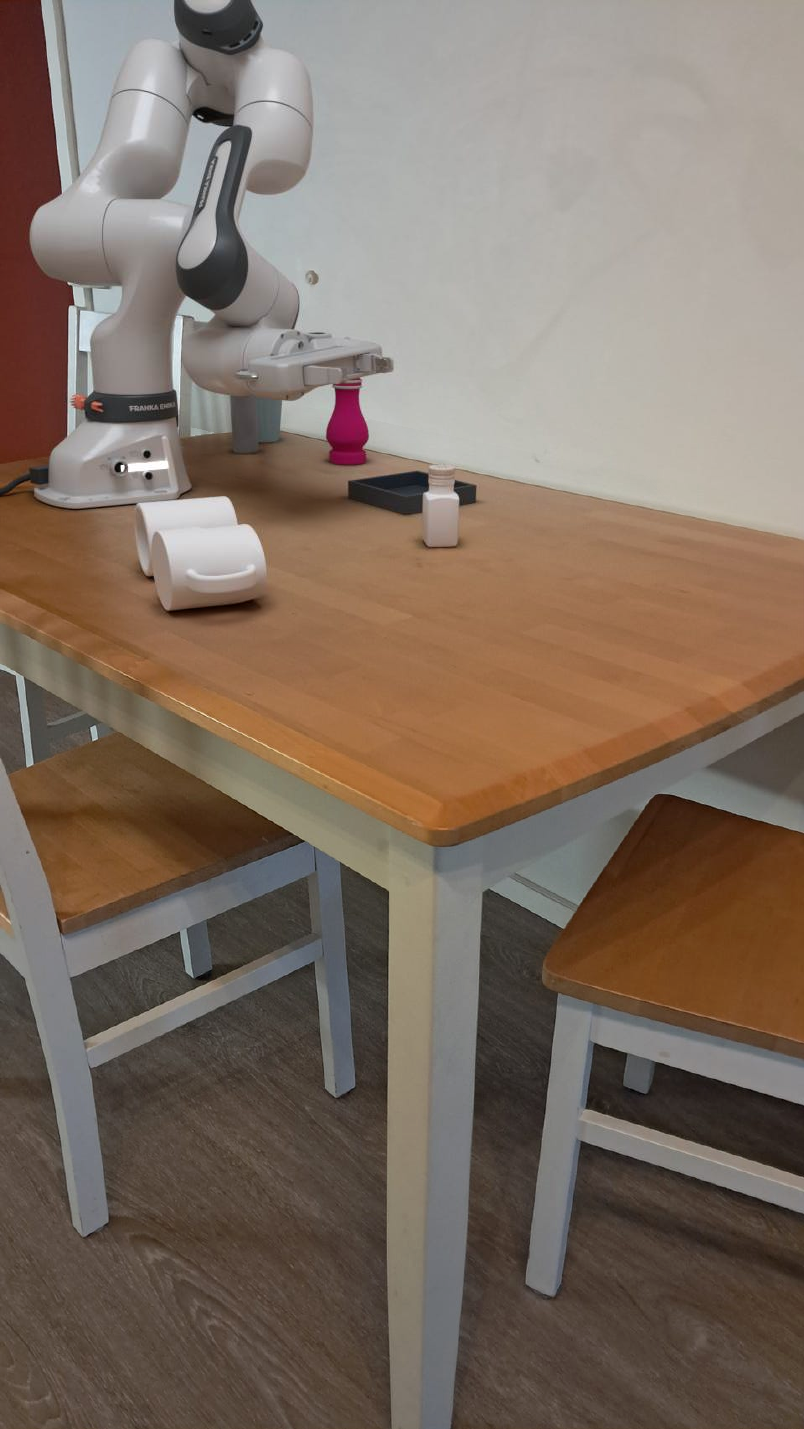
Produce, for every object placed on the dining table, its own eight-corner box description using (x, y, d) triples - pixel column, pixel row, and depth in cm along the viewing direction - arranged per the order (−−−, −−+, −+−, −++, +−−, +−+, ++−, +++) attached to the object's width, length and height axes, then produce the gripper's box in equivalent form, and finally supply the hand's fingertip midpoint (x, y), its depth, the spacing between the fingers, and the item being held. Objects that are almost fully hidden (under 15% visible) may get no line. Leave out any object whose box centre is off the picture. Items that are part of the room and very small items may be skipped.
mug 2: (152, 596, 111) (146, 520, 108) (239, 585, 115) (235, 512, 112) (183, 631, 101) (177, 549, 98) (276, 618, 105) (273, 539, 102)
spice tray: (405, 514, 146) (405, 496, 145) (348, 497, 155) (347, 480, 154) (475, 502, 154) (476, 485, 153) (417, 486, 163) (417, 470, 162)
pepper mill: (367, 466, 177) (368, 339, 169) (324, 465, 178) (322, 338, 169) (369, 458, 184) (370, 335, 176) (328, 457, 184) (326, 335, 176)
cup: (251, 444, 194) (248, 385, 190) (238, 438, 201) (235, 380, 196) (290, 442, 197) (289, 383, 193) (276, 436, 204) (274, 379, 200)
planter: (227, 452, 187) (224, 391, 183) (242, 448, 191) (239, 388, 187) (249, 454, 185) (246, 393, 181) (263, 450, 189) (261, 390, 185)
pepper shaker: (452, 539, 134) (455, 463, 130) (458, 547, 131) (461, 469, 127) (421, 540, 134) (422, 463, 130) (426, 548, 130) (428, 470, 126)
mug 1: (242, 575, 119) (238, 504, 115) (152, 585, 115) (146, 511, 112) (213, 549, 129) (209, 482, 125) (130, 557, 125) (123, 489, 122)
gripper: (224, 349, 129) (310, 353, 122) (330, 330, 144) (413, 334, 137) (229, 402, 132) (314, 410, 125) (333, 379, 147) (415, 385, 139)
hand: (367, 370), depth 131 cm, fingers open, 8 cm apart
